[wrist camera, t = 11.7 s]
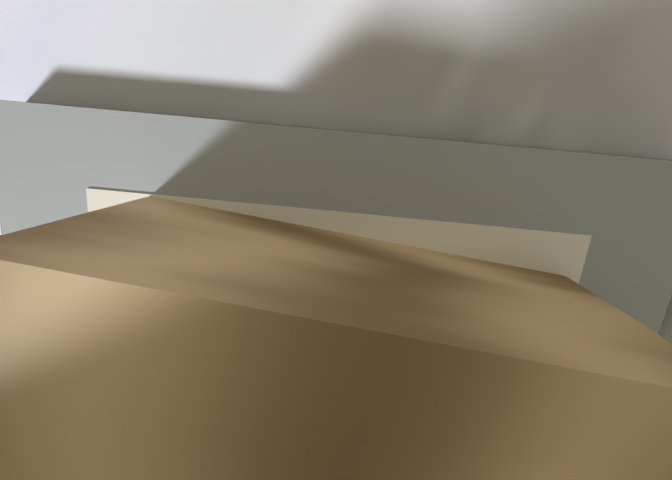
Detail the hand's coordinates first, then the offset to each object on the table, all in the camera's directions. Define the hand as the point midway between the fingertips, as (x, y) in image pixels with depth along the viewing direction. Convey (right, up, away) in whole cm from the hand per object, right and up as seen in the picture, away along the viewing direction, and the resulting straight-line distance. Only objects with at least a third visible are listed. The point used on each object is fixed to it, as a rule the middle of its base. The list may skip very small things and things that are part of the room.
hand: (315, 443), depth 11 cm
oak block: (0, 0, 0) cm, 0 cm away
